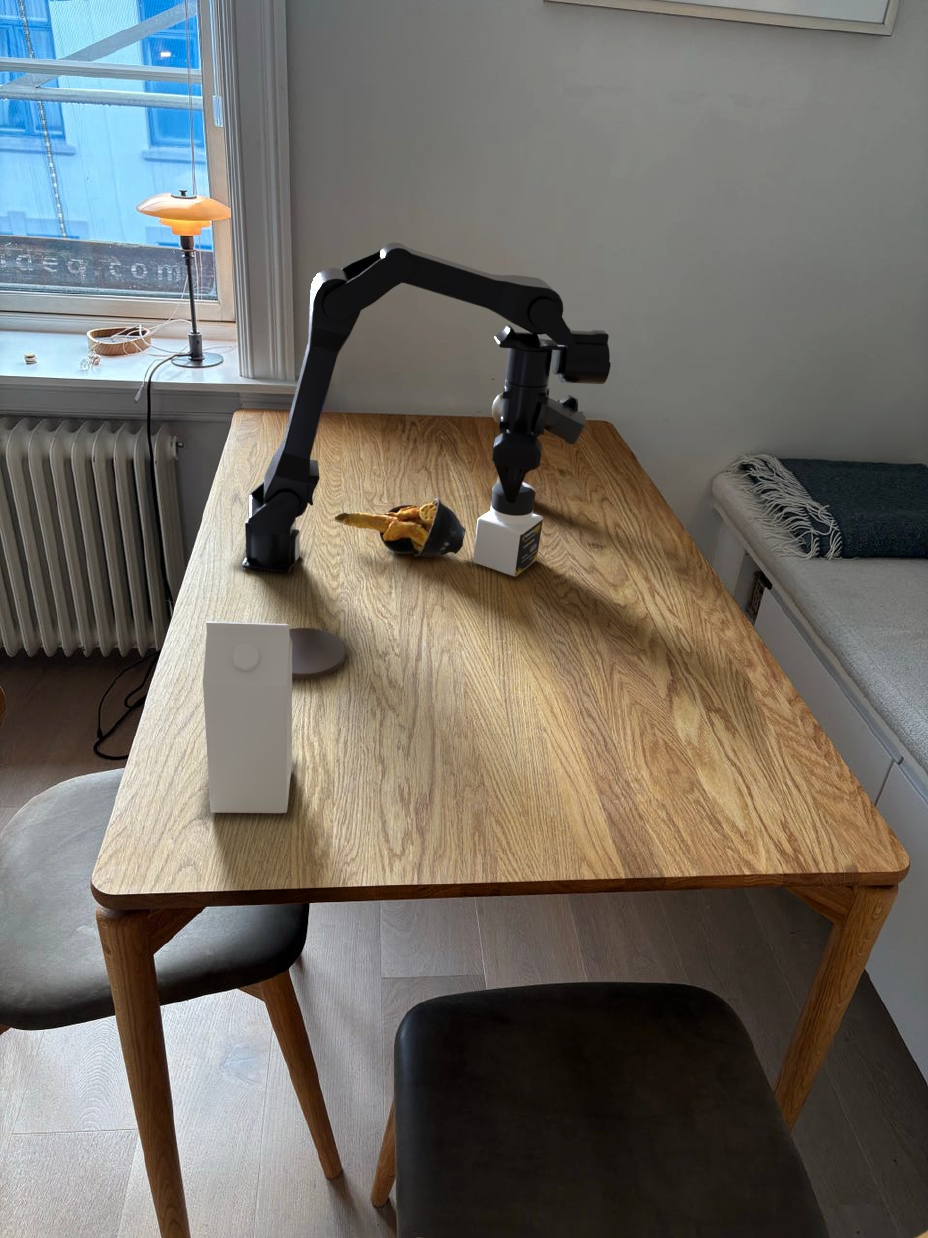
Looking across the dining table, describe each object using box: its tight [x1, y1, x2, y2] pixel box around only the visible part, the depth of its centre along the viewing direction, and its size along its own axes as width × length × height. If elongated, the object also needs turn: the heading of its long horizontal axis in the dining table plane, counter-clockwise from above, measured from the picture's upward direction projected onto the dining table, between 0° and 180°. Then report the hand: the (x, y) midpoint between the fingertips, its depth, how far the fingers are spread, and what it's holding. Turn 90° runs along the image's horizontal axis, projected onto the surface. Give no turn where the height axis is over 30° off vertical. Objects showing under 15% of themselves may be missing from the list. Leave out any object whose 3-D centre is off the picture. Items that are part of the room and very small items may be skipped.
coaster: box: [289, 627, 346, 680], centre depth 113 cm, size 10×10×1 cm
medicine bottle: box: [472, 481, 544, 578], centre depth 136 cm, size 7×7×12 cm
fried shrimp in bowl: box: [334, 498, 467, 558], centre depth 136 cm, size 9×11×18 cm
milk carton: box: [202, 620, 293, 814], centre depth 88 cm, size 7×7×19 cm
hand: (512, 489), depth 133 cm, fingers open, 9 cm apart
